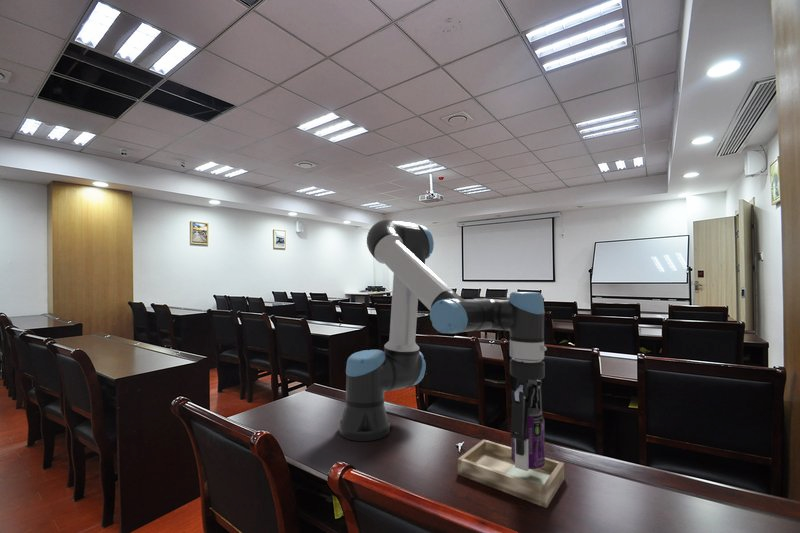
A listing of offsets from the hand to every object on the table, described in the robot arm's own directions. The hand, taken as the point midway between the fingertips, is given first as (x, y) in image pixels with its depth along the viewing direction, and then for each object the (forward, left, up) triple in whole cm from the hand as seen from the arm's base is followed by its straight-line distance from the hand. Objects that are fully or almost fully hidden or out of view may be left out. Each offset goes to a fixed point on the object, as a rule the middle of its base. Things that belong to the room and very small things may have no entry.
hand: (527, 461), depth 80 cm
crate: (-4, 0, -5) cm, 6 cm away
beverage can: (0, 0, -1) cm, 1 cm away
